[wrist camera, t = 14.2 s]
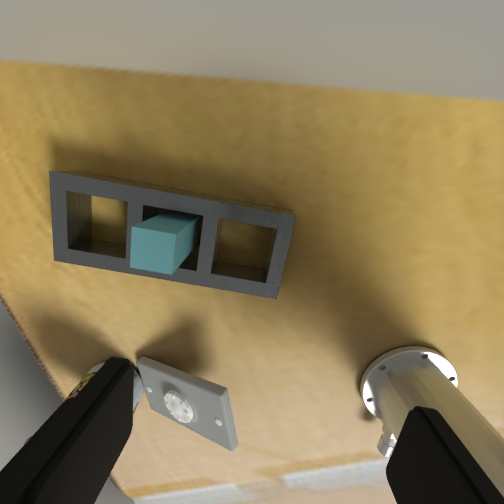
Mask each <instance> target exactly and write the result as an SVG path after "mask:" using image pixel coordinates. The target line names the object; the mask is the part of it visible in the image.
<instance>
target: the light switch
mask: <svg viewBox="0 0 504 504" xmlns="http://www.w3.org/2000/svg"><path fill="white" fill-rule="evenodd" d="M137 365H138V368H139V372H140V375H141V378H142V381H143V384H144V388H145V391H146V394H147V397H148V400H149V404H150V407H151V409H152V410H154V411H156V412H158V413H160V414H162V415H164V416H166V417H168V418H169V419H171V420H173V421H175V422H177V423H179V424H181V425H183V426H185V427H187V428H188V429H190V430H192V431H194V432H196V433H198V434H200V435H202V436H204V437H205V438H207V439H209V440H211V441H213V442H215V443H217V444H219V445H221V446H223V447H224V448H226V449H228V450H230V451H234V450H235V448H236V446H237V444H238V440H237V435H236V430H235V425H234V420H233V414H232V409H231V404H230V399H229V394H228V390H227V388H225V387H223V386H220V385H218V384H215V383H212V382H210V381H207V380H204V379H202V378H199V377H197V376H194V375H191V374H189V373H186V372H183V371H181V370H178V369H175V368H173V367H170V366H168V365H165V364H162V363H160V362H157V361H154V360H152V359H149V358H147V357H144V356H142V357H141V358H140V359H138V360H137Z"/></svg>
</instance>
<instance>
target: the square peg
mask: <svg viewBox="0 0 504 504" xmlns="http://www.w3.org/2000/svg"><path fill="white" fill-rule="evenodd" d="M199 217H200V216H194V215H189V214H184V213H178V212H173V211H166V212H164V213H162V214H159V215H157V216H155V217H153V218H150V219H148V220H146V221H143V222H141V223H139V224H136V225H134V226H132V232H131V254H130V267H131V268H136V269H142V270H148V271H153V272H159V273H165V274H170V275H172V274H173V273H174V272H175V271H176V269H177V268H178V267H179V266H180V265H181V263H182V262H183V261H184V260H185V259H186V257H187V256H188V255H189V254H190V253H191V251H192V250H193V249H194V248H195V247H196V241H197V233H198V225H199Z"/></svg>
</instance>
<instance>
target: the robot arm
mask: <svg viewBox="0 0 504 504" xmlns="http://www.w3.org/2000/svg"><path fill="white" fill-rule="evenodd" d="M133 391H134V365H130V361H129V360H128V359H123V358H116V357H110V358H109V359H108V360H107V361H106V362H105V363H104V364H103V366H102V367H101V368H100V369H99V370H98V371H97V372H96V374H95V375H94V376H93V377H92V378H91V379H90V380H89V381H88V383H87V384H86V385H85V386H84V387H83V388H82V389H81V391H80V392H79V393H78V394H77V395H76V396H75V397H70V398H68V399H67V400H66V401H64V402H63V403H62V404H61V405H60V406H59V408H58V409H57V410H56V411H55V412H54V413H53V414H52V415H51V416H50V418H49V419H48V420H47V421H46V422H45V423H44V424H43V425H42V426H41V427H40V429H39V430H38V431H37V432H36V433H35V434H34V435H33V436H32V437H31V438H30V439H29V441H28V442H27V443H26V444H25V445H24V446H23V447H22V448H21V449H20V450H19V452H18V453H17V454H16V455H15V456H14V457H13V458H12V459H11V460H10V462H9V463H8V464H7V465H6V466H5V467H4V468H3V469H2V470H1V472H0V504H94V503H95V501H96V499H97V497H98V495H99V493H100V491H101V490H102V488H103V486H104V484H105V482H106V480H107V478H108V476H109V474H110V473H111V471H112V469H113V467H114V465H115V463H116V461H117V459H118V457H119V456H120V454H121V452H122V450H123V448H124V446H125V444H126V442H127V440H128V438H129V436H130V434H131V430H132V425H133ZM360 392H361V397H362V399H363V401H364V404H365V406H366V407H367V409H368V410H369V411H370V412H371V413H372V414H373V415H374V416H376V417H377V418H379V419H381V420H382V422H383V427H382V429H383V432H384V433H383V435H381V437H380V439H379V442H378V444H377V448H378V450H379V451H380V453H381V454H383V455H384V456H386V457H390V456H391V457H390V459H389V462H388V464H387V467H386V475H387V480H388V482H389V485H390V487H391V490H392V492H393V495H394V497H395V499H396V502H397V504H504V438H503V437H502V436H501V435H500V434H499V432H498V431H497V430H496V429H495V428H494V427H493V426H492V425H491V424H490V423H489V422H488V421H487V420H486V418H485V417H484V416H483V415H482V414H481V413H480V412H479V411H478V410H477V409H476V408H475V407H474V406H473V404H472V403H471V402H470V401H469V400H468V399H467V398H466V397H465V396H464V395H463V394H462V393H461V392H460V391H459V389H458V388H457V374H456V371H455V369H454V367H453V366H452V364H451V363H450V362H449V361H448V360H447V359H446V358H445V357H444V356H443V355H441V354H440V353H439V352H437V351H435V350H432V349H430V348H426V347H421V346H408V347H401V348H397V349H394V350H391V351H389V352H387V353H384V354H383V355H381V356H380V357H378V358H377V359H376V360H375V361H373V362H372V363H371V364H370V365H369V367H368V368H367V369H366V371H365V373H364V375H363V376H362V380H361V383H360Z"/></svg>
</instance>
